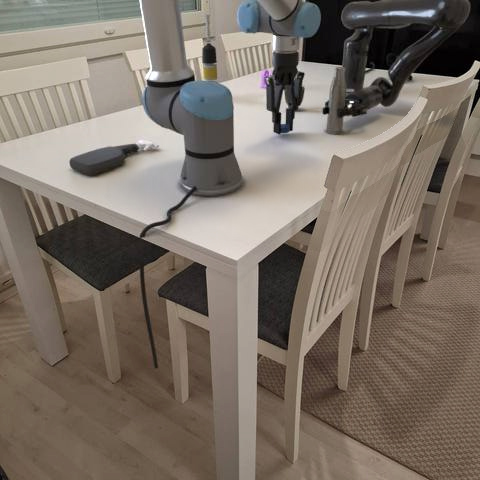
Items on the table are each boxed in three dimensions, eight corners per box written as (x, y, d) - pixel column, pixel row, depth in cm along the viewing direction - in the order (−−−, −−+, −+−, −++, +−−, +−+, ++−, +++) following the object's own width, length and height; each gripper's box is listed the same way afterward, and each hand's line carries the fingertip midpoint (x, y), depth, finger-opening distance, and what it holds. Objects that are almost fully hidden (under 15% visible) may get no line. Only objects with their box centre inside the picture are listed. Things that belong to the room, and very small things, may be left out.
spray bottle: (67, 168, 120) (139, 144, 136) (91, 178, 114) (163, 151, 130) (65, 157, 118) (137, 134, 134) (89, 167, 112) (162, 142, 128)
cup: (280, 111, 162) (280, 88, 158) (287, 106, 167) (288, 84, 163) (299, 113, 159) (300, 90, 155) (306, 108, 164) (308, 85, 160)
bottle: (338, 135, 139) (345, 70, 129) (324, 132, 141) (329, 68, 131) (344, 130, 143) (350, 67, 133) (329, 128, 145) (335, 65, 135)
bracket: (272, 88, 190) (272, 71, 187) (261, 87, 193) (261, 70, 189) (288, 83, 199) (288, 66, 195) (277, 81, 202) (278, 65, 198)
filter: (220, 99, 177) (217, 15, 161) (206, 100, 176) (202, 16, 160) (215, 96, 182) (212, 14, 166) (202, 97, 180) (197, 14, 164)
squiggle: (400, 92, 202) (376, 71, 205) (417, 76, 202) (392, 56, 205) (405, 81, 191) (380, 59, 194) (423, 64, 191) (397, 42, 194)
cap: (290, 132, 137) (291, 127, 137) (277, 133, 137) (277, 128, 136) (288, 128, 141) (288, 123, 140) (275, 129, 141) (275, 124, 140)
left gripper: (270, 56, 120) (268, 140, 132) (317, 49, 128) (311, 129, 140) (253, 52, 125) (253, 133, 138) (300, 46, 133) (296, 123, 146)
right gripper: (342, 86, 150) (312, 96, 139) (381, 93, 141) (353, 104, 131) (339, 109, 154) (311, 120, 143) (377, 116, 145) (350, 129, 135)
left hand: (283, 131), depth 139 cm, fingers closed on cap, 4 cm apart
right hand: (331, 112), depth 137 cm, fingers closed on bottle, 5 cm apart
